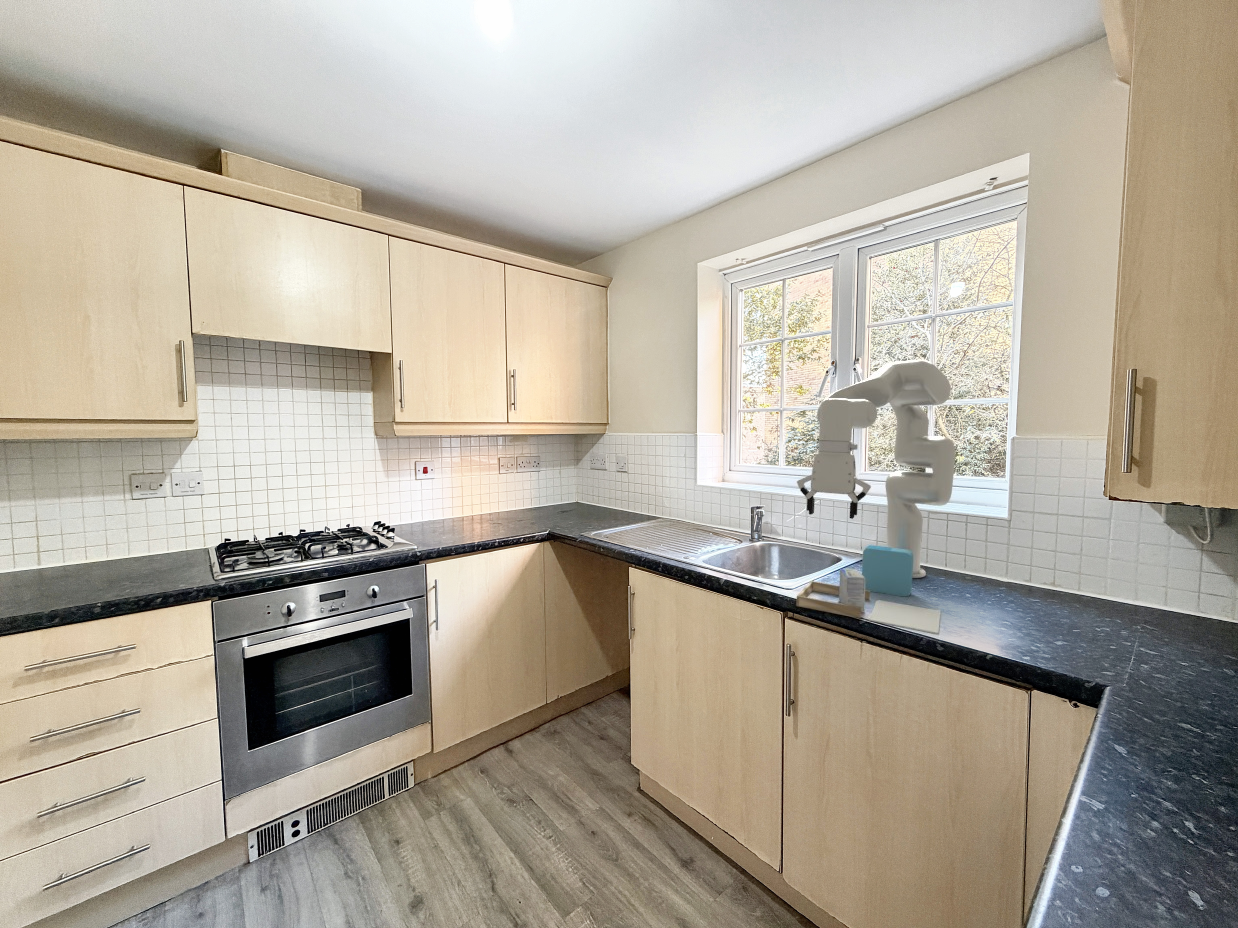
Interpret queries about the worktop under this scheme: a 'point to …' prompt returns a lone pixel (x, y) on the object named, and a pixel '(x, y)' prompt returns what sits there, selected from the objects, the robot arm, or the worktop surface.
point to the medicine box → (852, 588)
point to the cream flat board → (906, 616)
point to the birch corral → (827, 605)
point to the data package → (888, 570)
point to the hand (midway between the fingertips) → (831, 515)
